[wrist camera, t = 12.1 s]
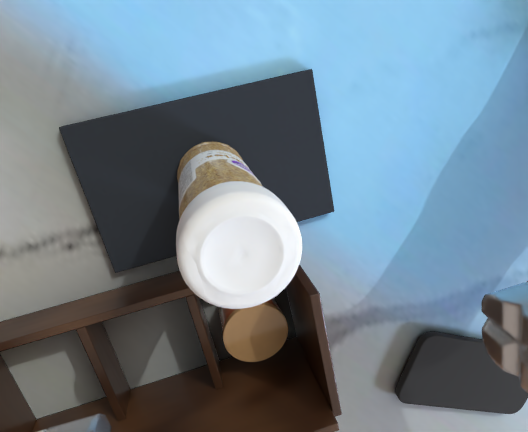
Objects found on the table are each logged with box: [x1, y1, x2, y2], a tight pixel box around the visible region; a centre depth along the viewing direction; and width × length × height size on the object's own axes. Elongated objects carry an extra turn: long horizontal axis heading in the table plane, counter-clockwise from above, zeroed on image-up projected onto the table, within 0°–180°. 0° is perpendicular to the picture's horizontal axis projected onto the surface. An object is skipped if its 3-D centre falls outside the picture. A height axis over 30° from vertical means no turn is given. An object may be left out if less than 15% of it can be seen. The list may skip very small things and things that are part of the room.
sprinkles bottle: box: [176, 142, 302, 309], centre depth 20 cm, size 5×5×13 cm
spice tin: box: [219, 297, 288, 362], centre depth 29 cm, size 5×5×4 cm
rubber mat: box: [59, 69, 334, 273], centre depth 27 cm, size 16×10×1 cm, turn 102°
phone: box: [395, 331, 528, 414], centre depth 38 cm, size 7×1×15 cm
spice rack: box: [0, 264, 342, 432], centre depth 26 cm, size 22×9×9 cm, turn 102°
